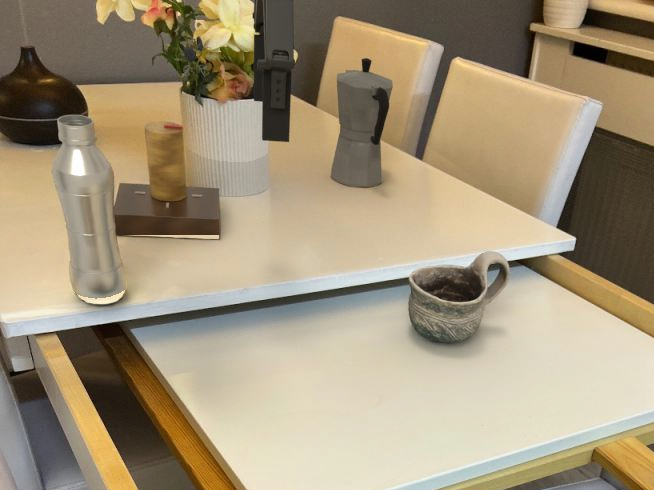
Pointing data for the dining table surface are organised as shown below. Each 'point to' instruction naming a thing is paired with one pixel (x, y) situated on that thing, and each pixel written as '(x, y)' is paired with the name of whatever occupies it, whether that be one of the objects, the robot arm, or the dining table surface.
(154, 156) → the candle
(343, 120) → the coffeepot
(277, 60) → the robot arm
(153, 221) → the dark brown flat block
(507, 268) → the mug
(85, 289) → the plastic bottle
